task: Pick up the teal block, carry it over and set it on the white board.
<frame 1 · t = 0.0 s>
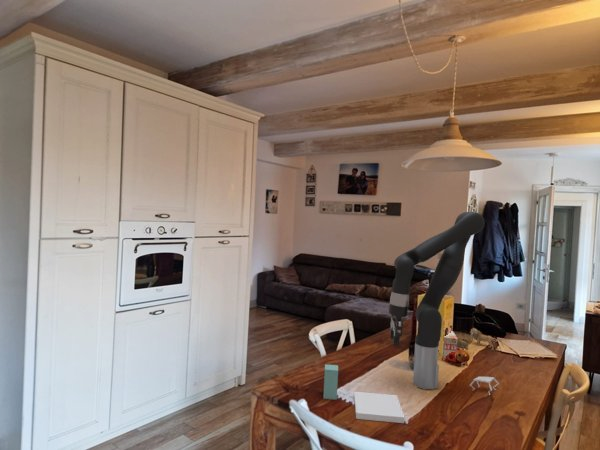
hand: (394, 341, 160), 17 cm above the table, tool pointing down, fingers open, 8 cm apart
lion figurine: (482, 347, 213), on the table
teal block: (330, 395, 146), on the table
white printed carton: (445, 355, 197), on the table
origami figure: (486, 391, 157), on the table
white board: (377, 409, 137), on the table
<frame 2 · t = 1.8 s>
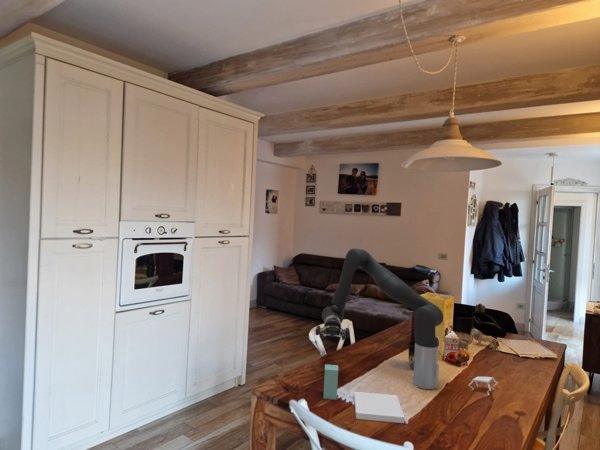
hand: (332, 337, 156), 19 cm above the table, tool horizontal, fingers open, 8 cm apart
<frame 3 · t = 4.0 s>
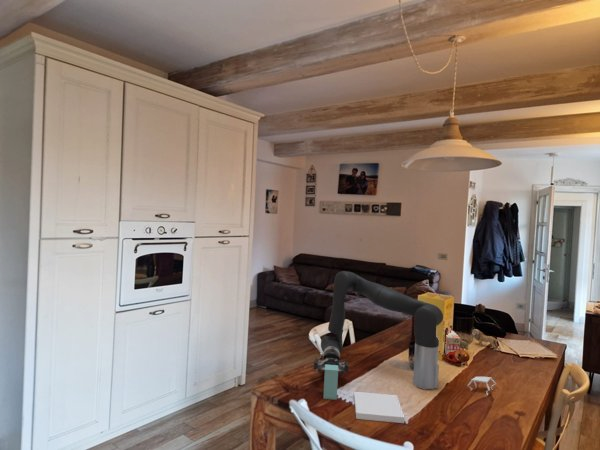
hand: (331, 372, 152), 7 cm above the table, tool horizontal, fingers open, 8 cm apart
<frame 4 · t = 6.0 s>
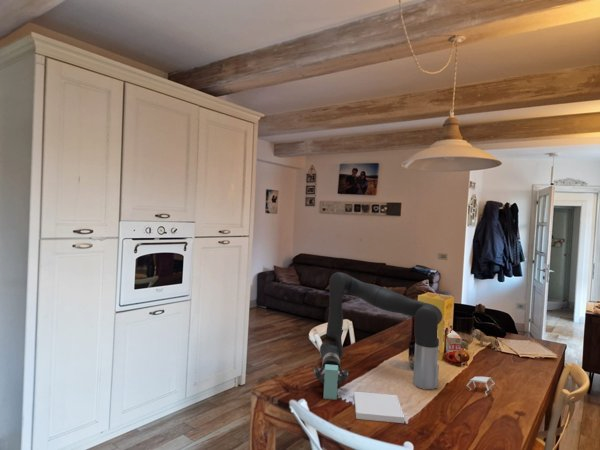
hand: (331, 381, 143), 7 cm above the table, tool horizontal, fingers closed on teal block, 5 cm apart
teal block: (330, 395, 145), on the table, touching gripper
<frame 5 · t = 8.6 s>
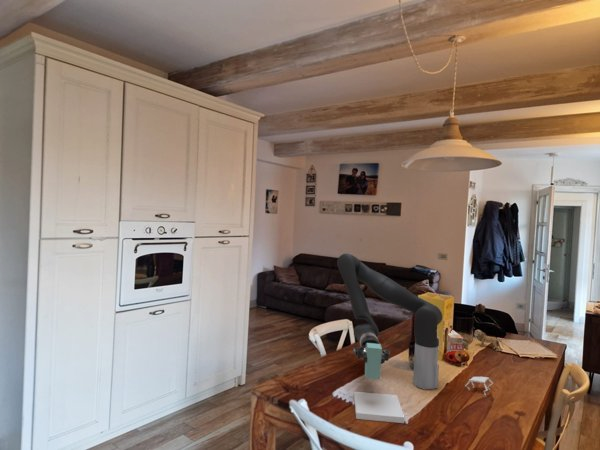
hand: (374, 360, 135), 18 cm above the table, tool horizontal, fingers closed on teal block, 5 cm apart
teal block: (372, 375, 138), point 11 cm above the table, touching gripper
when the fingers open (10 cm above the table, at t = 11.2 s): teal block drops 1 cm, resting on white board.
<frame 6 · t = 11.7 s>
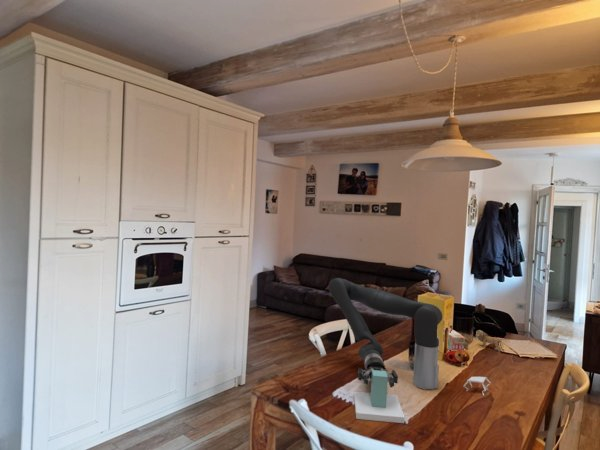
hand: (379, 383, 135), 10 cm above the table, tool horizontal, fingers open, 8 cm apart
teal block: (378, 403, 137), point 2 cm above the table, touching white board
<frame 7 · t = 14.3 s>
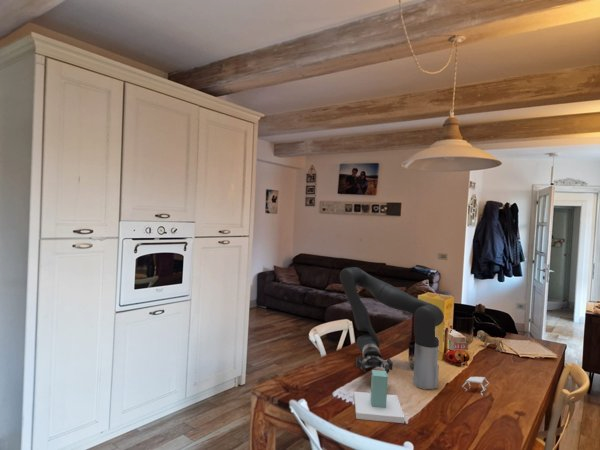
hand: (375, 370, 147), 10 cm above the table, tool horizontal, fingers open, 8 cm apart
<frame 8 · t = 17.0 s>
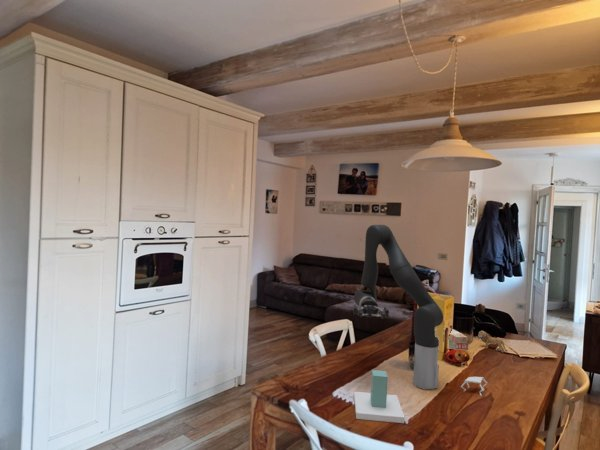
hand: (372, 315, 151), 30 cm above the table, tool horizontal, fingers open, 8 cm apart
at the end: teal block inside the target area on the white board (0.1 cm from its centre), point 2.0 cm above the white board's base; teal block tilted 0°; the gripper is holding nothing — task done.
